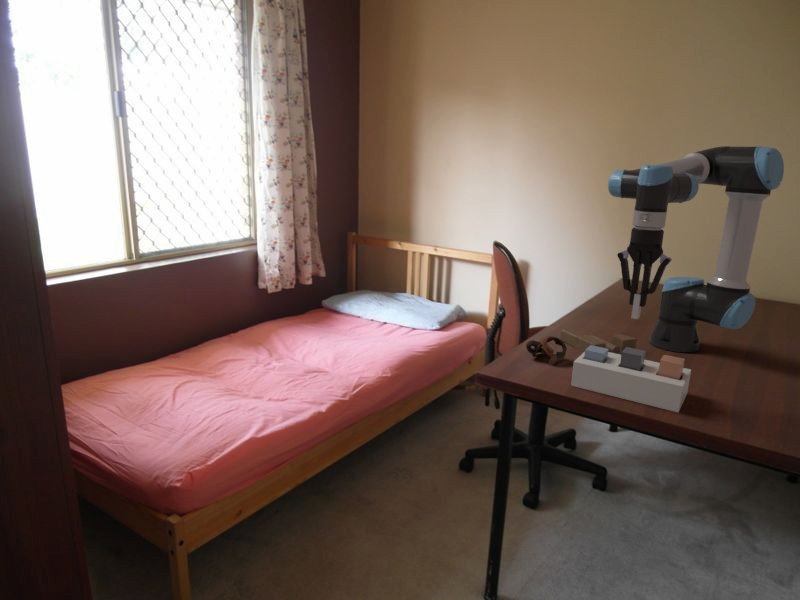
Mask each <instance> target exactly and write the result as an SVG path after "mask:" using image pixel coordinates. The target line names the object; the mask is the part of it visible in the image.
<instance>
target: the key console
mask: <svg viewBox="0 0 800 600" xmlns="http://www.w3.org/2000/svg"><path fill="white" fill-rule="evenodd" d="M584 356H585V352H582V354H581V355H579V356H578V357H577V358H576V359H575V360H574V361H573V366H572V374H571V380H570V381H571V383H570V386H571V387H575V388H579V389H583V390H587V391H590V392H595V393H598V394H602V395H606V396H612V397H614V398H615V397H616V398H620V399H622V400H623V399H624V400H628V401H631V402H636V403H638V404H642V405H646V406H651V407H655V408H659V409H663V410H667V411H670V412H674V413H679V412H680V410H681V409H682V408H681V407H682V405H683V404H684V401H685V400H686V397H687V396H688V392H689V386H690V385H689V384H690V381H691V380H690V378H691V375H692V374H691V372H692V369H690V368H685V367H683V372H682V377H681V379H680V380H677V379H672V378H668V377H663V376H659V375H658V371H659V365H660V362H657V361H653V360H649V359H648V360H647V359H645V360H644V367H643V369H642V371H637V370H632V369H628V368H623V367H620V362H621V353H619V354H616V353H611V352H608V358H607V361H606V362H605V363H601V362H596V361H592V360H587V359H584Z"/></svg>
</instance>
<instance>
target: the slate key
mask: <svg viewBox="0 0 800 600" xmlns="http://www.w3.org/2000/svg"><path fill="white" fill-rule="evenodd" d="M608 351H609V349H607V348H602V347H597V346H592V345H590V346H589V347H588V348H587V349H586V350H585V356H584V359H587V360H592V361H596V362H601V363H605V362H606V361H607V358H608Z"/></svg>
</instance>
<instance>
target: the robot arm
mask: <svg viewBox="0 0 800 600" xmlns="http://www.w3.org/2000/svg"><path fill="white" fill-rule="evenodd" d="M782 155H783V154H782V153H781V152H780V150H778V149H777V148H775V147H769V146H767V147H766V146H729V145H727V146H726V145H725V146H724V145H722V146H715V147H711V148H707V149H702V150H699V151H694V152H691V153H688V154H685V156H683V157H682V158H680V159H675V160H672V161H667V162H666V161H665V162H662V163H658V164H644V165H642V166H641V167H640V168H636V169H630V170H628V169H617V170H614V171H613V172H612V173H611V174H610V176H609V178H608V181H607V189H608V192H609V194H610V195H611V196H612V197H615V198H621V199H632V200H635V206H634V210H633V218H632V226H633V227H632V228H631V232H630V233H631V234H630V240H629V244H628V246H627V248H626V250H623V251H619V252H618V253H617V258H618V260H619V262H620V268H621V277H622V285H623V286H622V287H623V290H625V291H628V292H629V293H630V295H629V305H631V306H632V310H631V316H630V318H631V319H634V320H638V319H640V317H641V311H642V308H644V307H645V306H646V304H647V300H648V299H647V298H648V295H652V294H654V293H655V292H656V290H657V288H658V286H659V284H660V281H661V279H662V277H663V275H664V272H665V270H666V267H667V266H668V265H669V264H670V262H672V258H671V257H668V256H667V255H666V254H665V253H664V250H663V240H664V234H665V231H664V228H665V226H666V220H667V213H668V208H669V207H668V205H669V204H675V203H677V204H678V203H679V204H683V203H687V202H689V201H692V200H693V199H694V198H695V197H696V196H697V194H698V192H699V185H701V184H703V185H713V186H721V187H725V190H724V193H725V195H726V196H727V197H728V204H727V209H726V214H725V219H724V224H723V229H722V234H721V240H720V245H719V250H718V255H717V259H716V265H715V270H714V276H712V277H711V278H710V279H708V280H707V283H706V284H705V279H704V278H702V277H695V276H677V277H669V278H667V279H666V280H664V283H663V287H662V290H661V297H660V305H659V311H658V317H657V318H658V319H657V321H656V322H655V323H656V324H655V325H654V327H653V329H652V330H651V332H650V335H649V339H648V341H649V344H651V345H652V346H654V347H656V348H658V349H660V350H661V349H662V350H665V351H671V352H678V353H694V352H697V351H699V348H700V338H699V333H698V332H699V331H698V327H697V326H698V325H697V324H698V322H702V323H706V324H710V325H713V326H718V327H720V328H722V329H730V330H738V329H740V328H742V327H744V325H746V324H747V322H748V321H749V320H750V318H751V317H752V315H753V313H754V311H755V307H756V297H755V295H753V293H751V292H750V291H751V285H750V284H749V283H748V282H747V277H748V272H749V268H750V263H751V258H752V253H753V248H754V243H755V239H756V234H757V230H758V225H759V220H760V215H761V210H762V205H763V201H764V200H766V199H767V198H768V197H770V196H771V192H772V191H773V190H777V189H778V188H779V187H780V185H781V182H782V181H783V178H784V172H785V171H784V170H785V164H784V158H783V156H782ZM629 256H630V257H629ZM629 258H630V259H631V260H632V262H633V265H632V266H633V269H632V276H631V275H630V268H629V267H630V266H629V260H628V259H629ZM657 260H659V264H660V265H658V267H657V270H656V273H655V274H654V278H653V279H652V282H651V284H650V280H651V274H652V269H653V264H654V263H655V262H656V261H657ZM642 265H643V275H642V280H641V290H640V291H639V283H640V278H641V277H640V276H641V269H642ZM630 276H631V277H630ZM638 291H639V292H638Z"/></svg>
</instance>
